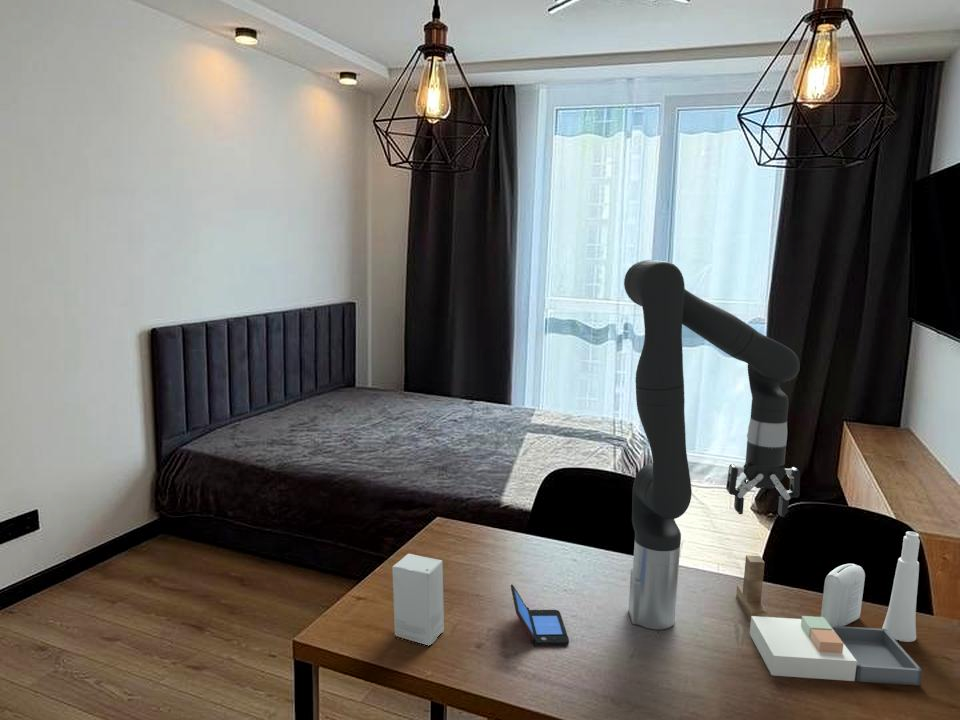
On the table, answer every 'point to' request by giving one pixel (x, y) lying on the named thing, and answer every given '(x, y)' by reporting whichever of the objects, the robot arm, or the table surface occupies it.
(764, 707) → the table surface
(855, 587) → the photo printer
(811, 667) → the off-white plate
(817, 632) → the terracotta tile
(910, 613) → the cosmetic bottle
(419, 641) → the skincare box
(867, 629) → the box
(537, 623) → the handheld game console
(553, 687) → the table surface
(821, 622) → the sage-green tile
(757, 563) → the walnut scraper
